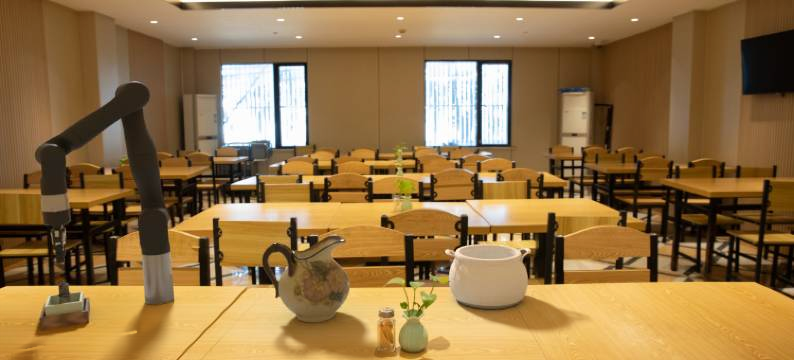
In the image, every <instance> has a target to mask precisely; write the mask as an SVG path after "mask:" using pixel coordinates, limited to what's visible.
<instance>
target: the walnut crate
mask: <svg viewBox="0 0 794 360" xmlns="http://www.w3.org/2000/svg"><path fill="white" fill-rule="evenodd" d="M45 305H46V302H45V303H43V306H42V308H41V312H40V315H39V327H40V331H44V330H49V329H55V328H56V329H57V328H62V327H69V326H77V325H81V324H82V325H83V324H89V322H90V316H91V315H90V314H91V313H90V312H91V303H90V296H89V297H84V305H85V311H79V312H72V313H66V314H59V315H52V316H46V314H45Z"/></svg>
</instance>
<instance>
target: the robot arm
mask: <svg viewBox="0 0 794 360" xmlns="http://www.w3.org/2000/svg"><path fill="white" fill-rule="evenodd" d="M114 92H115V93H114V96H113V97H112V99H111V100H109V101H108V102H107V103H105V104H103V105H102V106H101V107H99V108H97V109H95V110H94V111H92V112H90V113H88V114H87V115H84V116H83V117H82V118H80V119H78V120H77V121H75V122H74V123H73V124H71V125H70V126H68V127H67V128H66V129H65V130H63V131H62V132H61V133H58V134H57V135H55V136H53V137H51V138H50V139H48V140H46V141H45V142H44V143H42V144H40V145H39V146H38V147H36V150H35V151H34V159H35V161H36V162H37V163H38V164H40V168H41V170H40V171H41V177H40V179H39V187H40V188H39V189H40V195H41V196H40V198H41V199H40V203H41V212H42V213H41V214H42V224H43V225H45V226H51V227H52V229H51V230H50V236H51V243H52V245H53V249H52V250H53V251H54V253H55V261H56V263H57V264H60V263H61V264H62V263H64V262H65V260H66V259H65V257H66V256H67V251H66V243H67V242H66V240H67V230H66V227H65V224H69V223H70V222H72V219H71V216H72V215H71V207H70V206H71V205H70V200H69V194H68V187H67V186H68V185H67V180H66V174H67V156H68V155H69V154H70V153H73V151H77V150H79V149H81V148H83V147H84V146H86V145H87V144H88V143H89V142H91V141H92V140H93V139H95V138H96V137H97V136H99V135H100V134H102V132H103V133H104V132H105V130H107V129H108V128H109V127H110V126H112V125H114V124H115V123H116V122H118V121H119V120H120V121H121V123H122V128H123V136H124V144H125V148H126V149H125V150H126V154H127V161H128V166H129V170H130V173H131V176H132V179H133V181H134V183H135V184H134V185H136V188H137V191H138V195H139V201H140V214H139V216H138V218H137V219H138V221H137V225H138V226H137V227H138V239H139V247H140V250H141V251H140V252H141V262H142V276H143V277H142V278H143V291H144V302H145V304H146V305H150V306H151V305H153V306H154V305H164V304H167V303H170V302H174V301H175V290H174V278H173V277H174V275H173V270H172V256H171V252H172V251H171V244H170V240H169V239H170V238H169V227H168V226H169V220H170V214H169V212H168V208H167V205H166V202H165V201H166V200H165V199H164V195H163V191H162V183H161V182H162V181H161V172H160V164H159V158H158V151H157V147H156V145H155V142H154V139H153V138H152V135H151V134H150V131H149V130H148V127H147V124H146V121H145V116H144V115H145V114H144V113H145V112H144V107H145V106H147V104H149V101H150V99H151V93H150V90H149V88H148V86H146V85H145V84H144V83H143V82H139V81H127V82H123V83H122V84H121V83H120V84H119V85H118V86H117V88H116V89H115V91H114Z"/></svg>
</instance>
